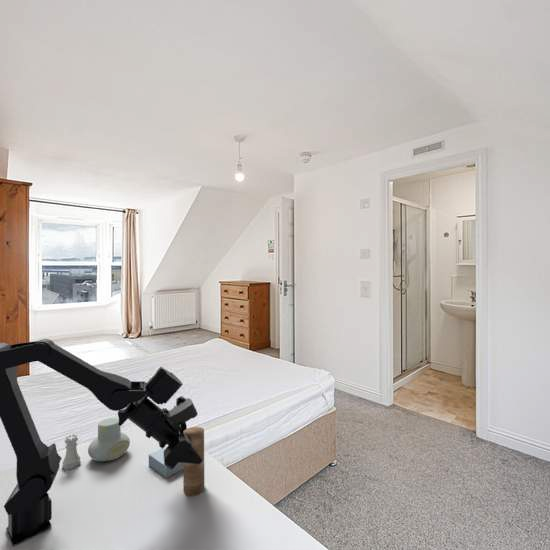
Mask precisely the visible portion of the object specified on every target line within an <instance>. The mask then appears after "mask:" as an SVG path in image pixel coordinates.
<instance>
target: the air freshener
mask: <svg viewBox="0 0 550 550" xmlns="http://www.w3.org/2000/svg"><path fill="white" fill-rule="evenodd" d="M118 424H119V418H117V417H116V418H115V417H112V418H106V419H103V420H101V421H100V422H98V424H97V437H95V438H94V439H93V440H92V441H91V442H90V443H89V445H88V448H87V454H88V456H89V457H90V458H91V459H93V460H94V461H97V462H111V461H115V460H117V459H118V458H120V457H121V456H123V454H125V453H126V452H127V450H128V449H129V447H130V443H131V440H130V437H129V436H128V435H127V434H126V433H125V432H122V430H121V426H119V425H118Z"/></svg>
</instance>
